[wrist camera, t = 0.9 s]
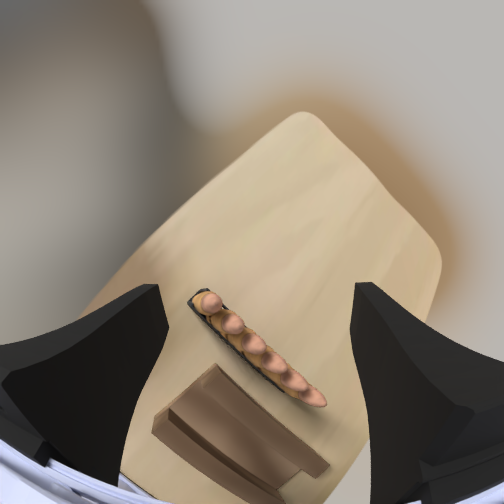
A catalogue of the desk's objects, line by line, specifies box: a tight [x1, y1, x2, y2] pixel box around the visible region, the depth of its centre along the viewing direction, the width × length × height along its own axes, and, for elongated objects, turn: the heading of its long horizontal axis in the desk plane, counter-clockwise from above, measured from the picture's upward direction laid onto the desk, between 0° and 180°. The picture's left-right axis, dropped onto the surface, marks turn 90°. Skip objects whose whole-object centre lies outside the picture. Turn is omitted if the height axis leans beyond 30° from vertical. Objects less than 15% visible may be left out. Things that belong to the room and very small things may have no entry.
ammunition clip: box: [187, 288, 327, 407], centre depth 21 cm, size 11×2×12 cm, turn 45°
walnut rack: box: [151, 363, 330, 504], centre depth 23 cm, size 8×15×4 cm, turn 43°
